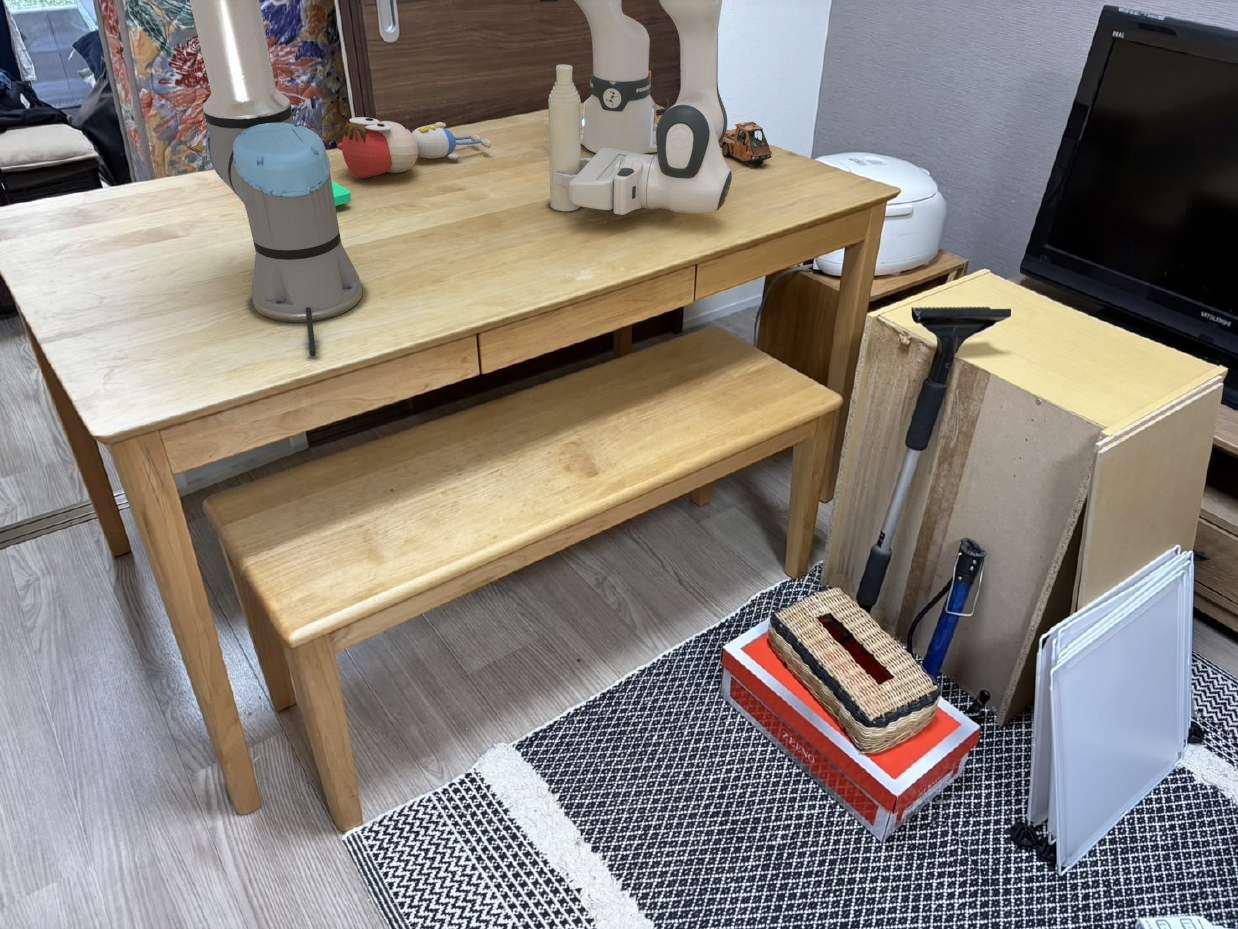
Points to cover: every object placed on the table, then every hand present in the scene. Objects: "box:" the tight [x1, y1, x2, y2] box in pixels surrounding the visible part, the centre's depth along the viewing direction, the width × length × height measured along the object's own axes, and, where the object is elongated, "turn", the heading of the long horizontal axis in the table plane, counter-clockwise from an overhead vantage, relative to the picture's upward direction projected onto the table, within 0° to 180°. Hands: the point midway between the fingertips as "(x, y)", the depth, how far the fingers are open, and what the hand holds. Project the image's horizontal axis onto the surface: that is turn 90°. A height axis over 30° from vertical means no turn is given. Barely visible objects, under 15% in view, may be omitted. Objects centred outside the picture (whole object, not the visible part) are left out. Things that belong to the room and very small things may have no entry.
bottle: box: [547, 63, 582, 212], centre depth 159 cm, size 5×5×24 cm
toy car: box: [719, 121, 773, 167], centre depth 186 cm, size 6×12×7 cm, turn 39°
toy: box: [336, 116, 492, 179], centre depth 179 cm, size 18×10×30 cm
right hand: (560, 170), depth 162 cm, fingers closed on bottle, 5 cm apart
